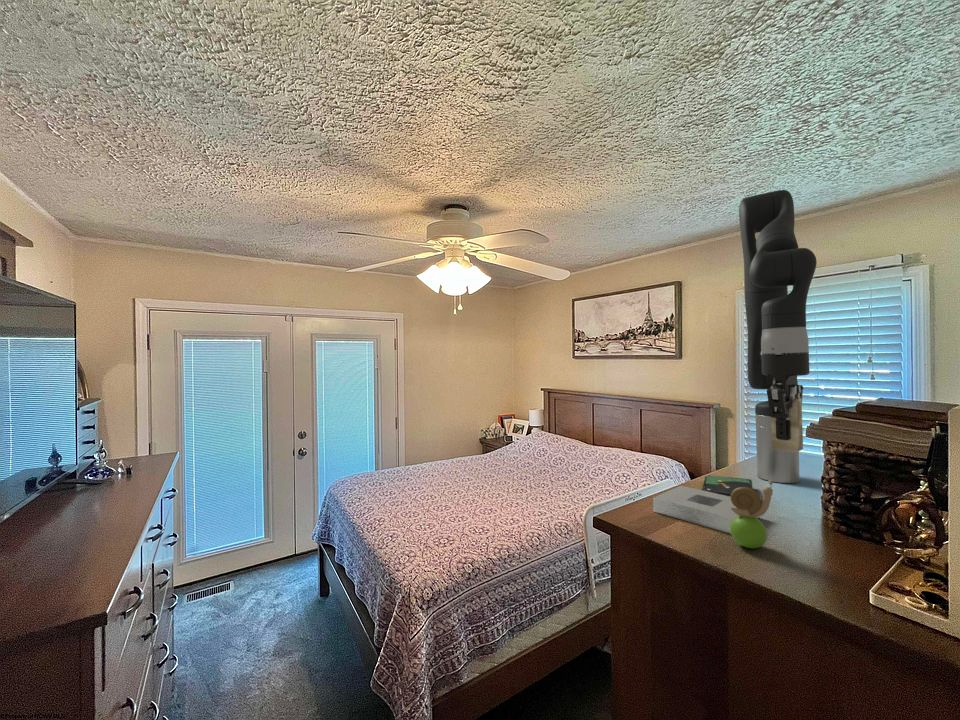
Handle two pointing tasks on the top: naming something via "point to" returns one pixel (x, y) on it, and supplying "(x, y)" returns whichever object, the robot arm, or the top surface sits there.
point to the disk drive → (724, 484)
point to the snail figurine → (749, 516)
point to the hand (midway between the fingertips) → (787, 437)
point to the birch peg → (796, 430)
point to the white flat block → (697, 507)
